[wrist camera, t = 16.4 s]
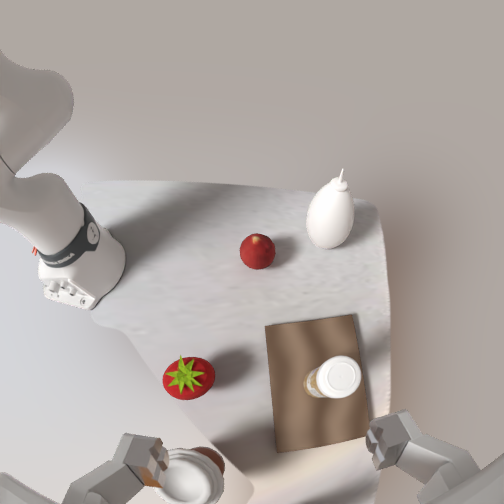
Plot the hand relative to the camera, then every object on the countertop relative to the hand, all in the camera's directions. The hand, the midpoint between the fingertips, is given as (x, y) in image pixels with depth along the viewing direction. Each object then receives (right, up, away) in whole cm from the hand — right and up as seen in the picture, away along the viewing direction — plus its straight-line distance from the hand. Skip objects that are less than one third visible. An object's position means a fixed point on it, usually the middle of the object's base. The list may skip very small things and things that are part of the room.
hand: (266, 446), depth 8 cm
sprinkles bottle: (+9, -12, +27) cm, 31 cm away
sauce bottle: (+13, +9, +42) cm, 45 cm away
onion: (+1, +5, +40) cm, 41 cm away
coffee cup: (-8, -25, +23) cm, 34 cm away
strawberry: (-9, -13, +30) cm, 34 cm away
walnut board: (+9, -13, +29) cm, 33 cm away
